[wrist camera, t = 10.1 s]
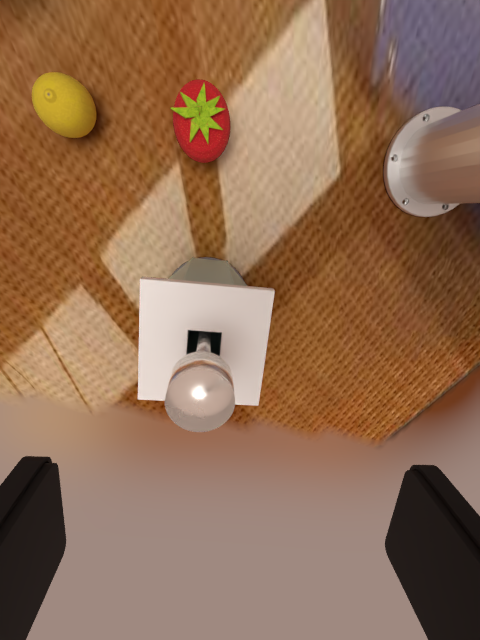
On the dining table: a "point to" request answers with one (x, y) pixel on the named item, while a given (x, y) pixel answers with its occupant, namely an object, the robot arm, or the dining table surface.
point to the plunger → (200, 389)
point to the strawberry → (201, 121)
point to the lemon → (64, 104)
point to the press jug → (203, 325)
